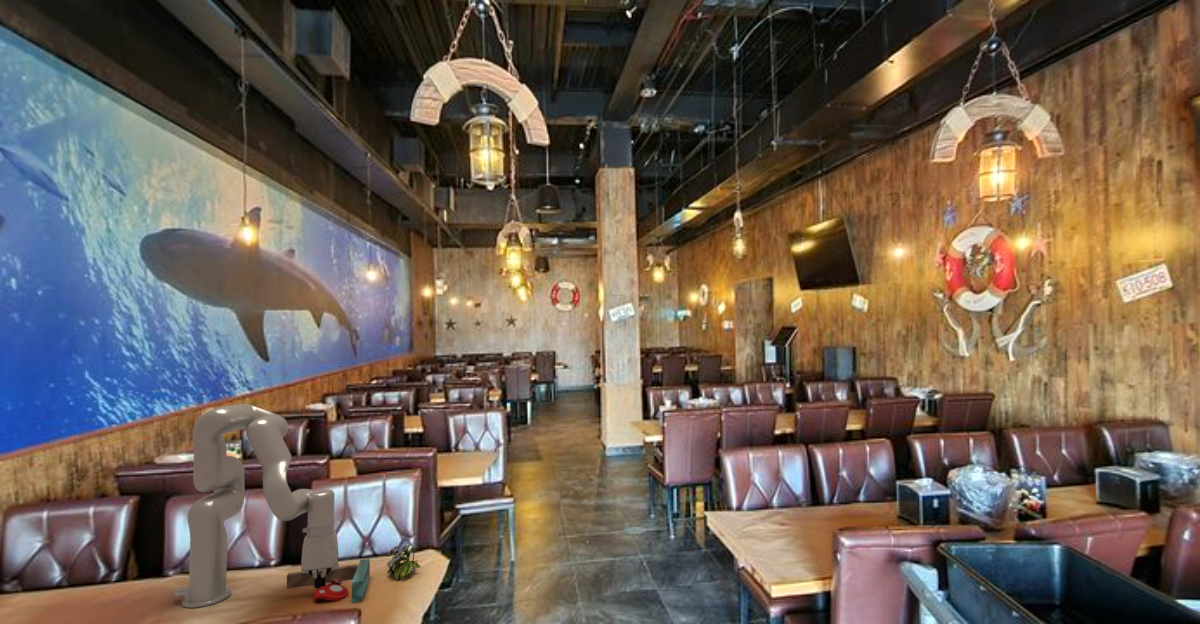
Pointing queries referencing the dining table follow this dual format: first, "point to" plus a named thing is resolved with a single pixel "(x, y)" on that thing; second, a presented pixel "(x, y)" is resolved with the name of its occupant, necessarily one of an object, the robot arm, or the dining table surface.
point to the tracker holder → (331, 591)
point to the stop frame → (355, 572)
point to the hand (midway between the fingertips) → (319, 589)
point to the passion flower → (406, 565)
